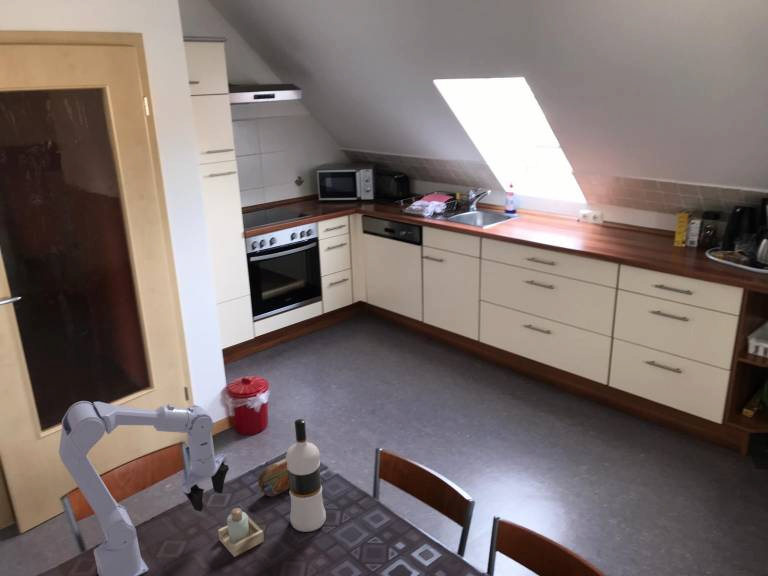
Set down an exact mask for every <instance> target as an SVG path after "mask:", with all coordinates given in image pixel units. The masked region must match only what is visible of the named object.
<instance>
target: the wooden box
mask: <svg viewBox="0 0 768 576" xmlns="http://www.w3.org/2000/svg"><path fill="white" fill-rule="evenodd" d="M247 517H248V525H249V532H250V536H249V537H247V538H245V539H243V540H241V541H239V542H237V543H235V544H232V543H231V542H230V539H229V532H228V525H225V526H223V527H220V528H219V529H218V530H217V532H218V538H219V539H218V540H219V541H220V542H221V543H222V544H223V546H224V547H225V548H226V549H227V550H228V552H230V555H232V556H233V557H234V558H235V557H237V556H239V555H241V554H243V553H246V552H247V551H248V550H250V549H253V548H254V547H256V546H258V545H260V544H262V543H263V542H265V538H264V537H265V535H264V531H263V529H262V528H260V527H259V525H257V523H256V522H254V520H253V519H252V518H251V517H249V515H248V514H247Z"/></svg>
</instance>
